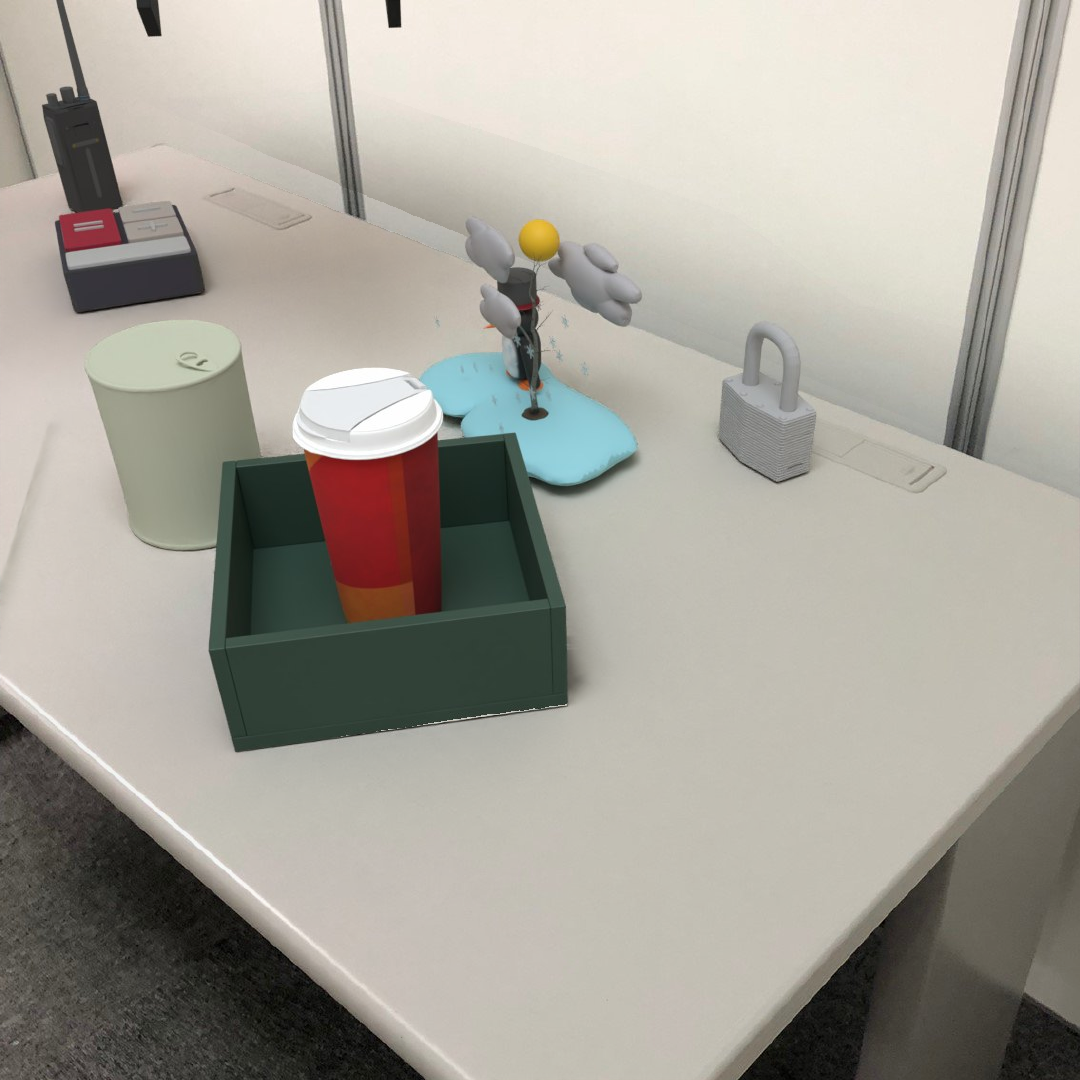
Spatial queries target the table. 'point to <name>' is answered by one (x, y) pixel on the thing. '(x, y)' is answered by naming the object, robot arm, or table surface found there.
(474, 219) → the blue and grey toy
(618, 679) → the table surface
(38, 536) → the table surface
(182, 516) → the can
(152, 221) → the calculator
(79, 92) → the walkie-talkie
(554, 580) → the bin
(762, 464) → the padlock
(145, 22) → the robot arm
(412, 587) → the paper cup
